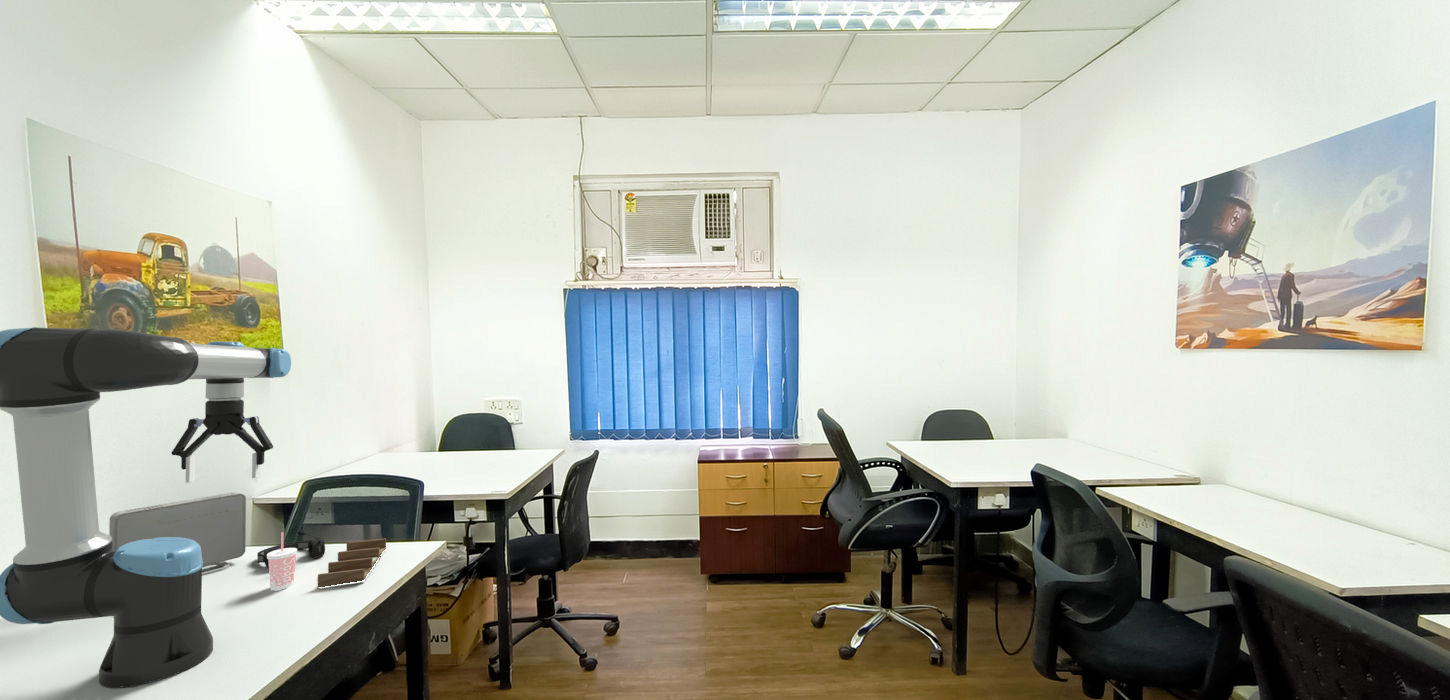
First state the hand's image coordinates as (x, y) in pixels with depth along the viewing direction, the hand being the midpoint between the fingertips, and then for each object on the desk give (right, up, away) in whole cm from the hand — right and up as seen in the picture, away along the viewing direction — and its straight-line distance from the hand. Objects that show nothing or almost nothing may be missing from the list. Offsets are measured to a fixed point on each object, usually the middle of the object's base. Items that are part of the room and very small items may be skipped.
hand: (223, 479), depth 143 cm
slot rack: (+30, -27, +8) cm, 41 cm away
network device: (-13, -27, +2) cm, 30 cm away
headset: (+7, -27, +14) cm, 31 cm away
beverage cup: (+19, -27, -5) cm, 33 cm away
